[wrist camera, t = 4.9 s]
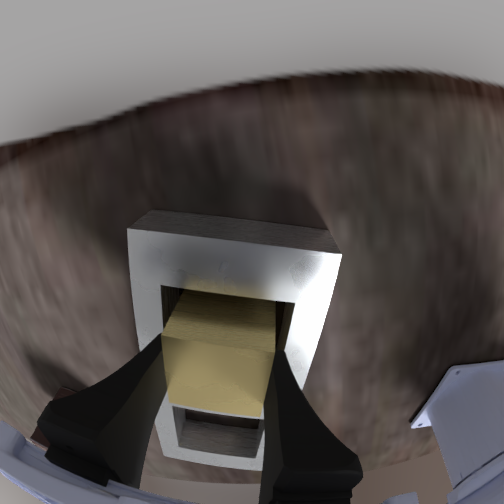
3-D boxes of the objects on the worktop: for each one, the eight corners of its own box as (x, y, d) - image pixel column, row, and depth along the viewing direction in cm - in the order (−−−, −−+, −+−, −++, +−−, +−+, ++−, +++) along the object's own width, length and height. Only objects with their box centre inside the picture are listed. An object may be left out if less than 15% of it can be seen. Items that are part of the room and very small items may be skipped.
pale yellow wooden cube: (275, 293, 15) (275, 352, 11) (264, 356, 17) (260, 417, 13) (188, 281, 15) (160, 335, 11) (189, 345, 17) (168, 402, 13)
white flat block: (329, 230, 14) (342, 254, 12) (270, 443, 22) (269, 471, 20) (152, 209, 15) (127, 228, 12) (171, 429, 23) (164, 455, 20)
